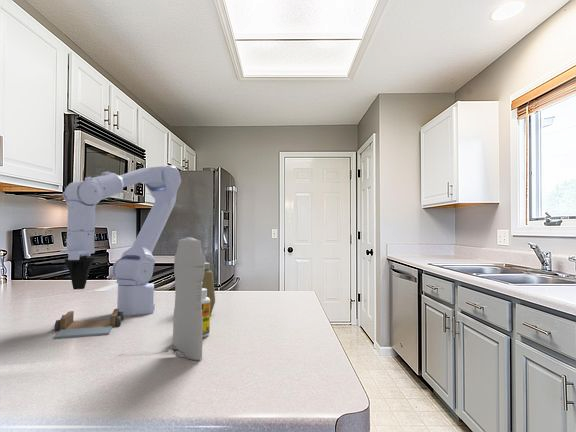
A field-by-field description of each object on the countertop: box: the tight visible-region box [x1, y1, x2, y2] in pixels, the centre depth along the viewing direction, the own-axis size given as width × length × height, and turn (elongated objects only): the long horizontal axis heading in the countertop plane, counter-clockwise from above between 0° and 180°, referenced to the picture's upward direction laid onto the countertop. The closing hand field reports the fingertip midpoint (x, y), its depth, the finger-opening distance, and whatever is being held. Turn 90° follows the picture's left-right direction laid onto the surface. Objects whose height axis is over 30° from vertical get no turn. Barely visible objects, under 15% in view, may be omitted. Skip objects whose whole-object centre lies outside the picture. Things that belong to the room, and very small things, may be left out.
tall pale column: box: [172, 236, 206, 362], centre depth 69 cm, size 11×4×22 cm, turn 44°
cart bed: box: [53, 308, 124, 332], centre depth 85 cm, size 13×8×4 cm, turn 110°
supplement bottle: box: [202, 288, 211, 339], centre depth 81 cm, size 6×6×10 cm
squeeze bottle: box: [201, 249, 216, 315], centre depth 102 cm, size 8×8×18 cm
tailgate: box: [53, 326, 113, 340], centre depth 77 cm, size 10×1×6 cm
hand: (79, 288), depth 85 cm, fingers closed
